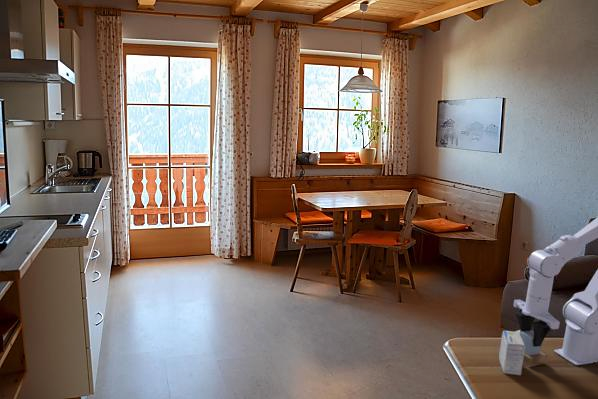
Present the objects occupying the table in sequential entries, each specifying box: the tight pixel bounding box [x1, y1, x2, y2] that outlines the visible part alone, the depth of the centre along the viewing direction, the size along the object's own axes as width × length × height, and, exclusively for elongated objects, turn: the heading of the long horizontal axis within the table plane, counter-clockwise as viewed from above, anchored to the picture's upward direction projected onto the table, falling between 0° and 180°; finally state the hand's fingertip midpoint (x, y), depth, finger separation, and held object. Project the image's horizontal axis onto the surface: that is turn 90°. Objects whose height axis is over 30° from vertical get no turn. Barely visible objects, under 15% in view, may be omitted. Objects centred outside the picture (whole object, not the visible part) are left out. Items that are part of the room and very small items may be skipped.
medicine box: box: [498, 330, 525, 376], centre depth 139 cm, size 8×4×9 cm, turn 168°
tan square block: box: [522, 350, 547, 368], centre depth 145 cm, size 6×6×3 cm
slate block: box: [520, 329, 543, 356], centre depth 144 cm, size 4×4×5 cm
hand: (530, 341), depth 144 cm, fingers closed on slate block, 4 cm apart
